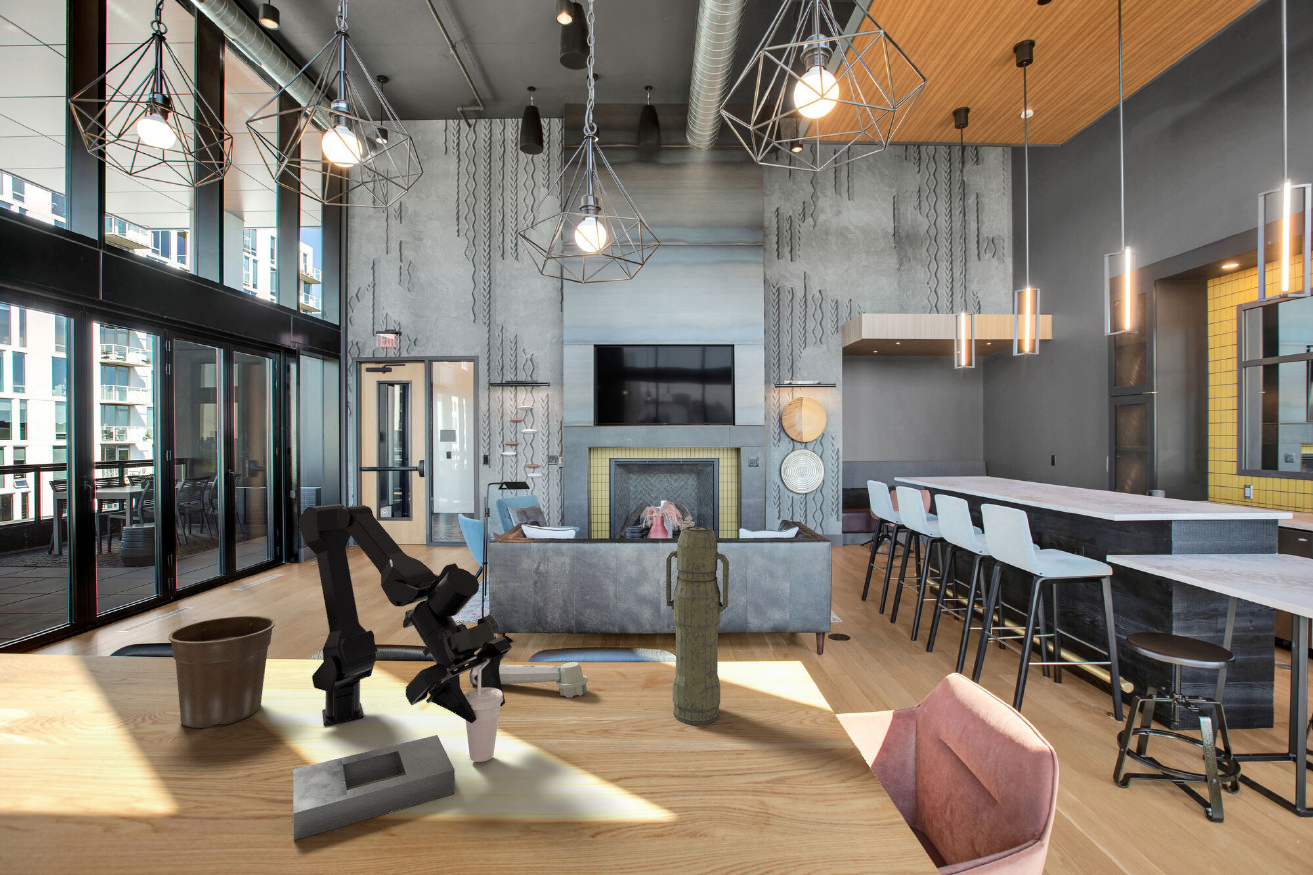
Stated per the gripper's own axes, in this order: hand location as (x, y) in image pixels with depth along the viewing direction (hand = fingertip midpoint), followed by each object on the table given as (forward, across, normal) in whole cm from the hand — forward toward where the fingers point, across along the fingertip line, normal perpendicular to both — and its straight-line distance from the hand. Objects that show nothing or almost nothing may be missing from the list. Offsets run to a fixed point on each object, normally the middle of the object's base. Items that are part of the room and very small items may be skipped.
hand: (489, 712), depth 96 cm
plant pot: (-33, -10, +46) cm, 57 cm away
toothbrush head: (-3, +26, +15) cm, 30 cm away
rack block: (0, -14, +12) cm, 18 cm away
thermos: (+22, +31, -11) cm, 39 cm away
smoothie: (+4, 0, +6) cm, 7 cm away
